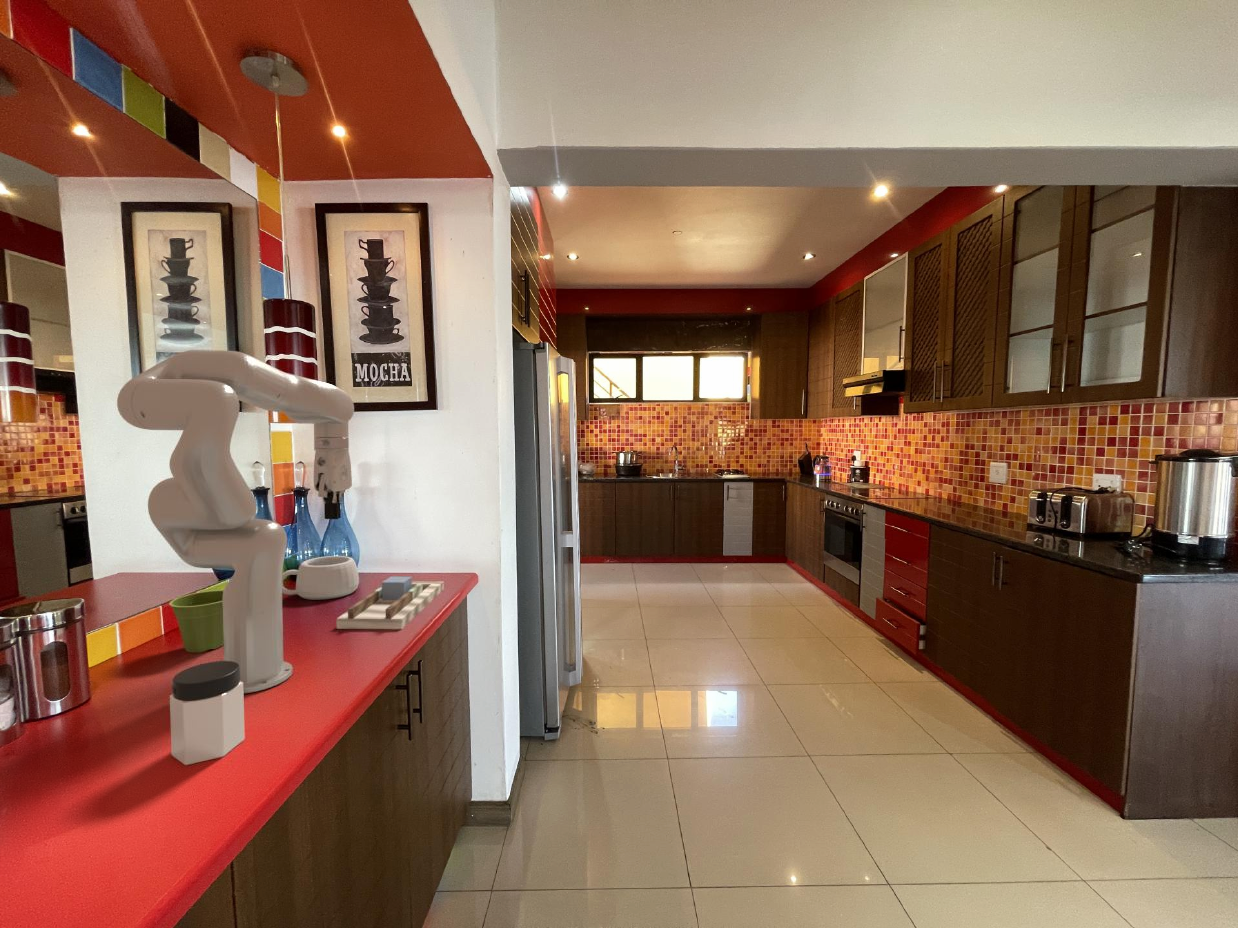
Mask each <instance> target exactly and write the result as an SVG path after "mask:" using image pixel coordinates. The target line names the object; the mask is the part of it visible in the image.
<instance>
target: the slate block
mask: <svg viewBox="0 0 1238 928" xmlns="http://www.w3.org/2000/svg"><path fill="white" fill-rule="evenodd" d="M412 581H413V576H389V577H388V578H386V579H385V580H383V581H382V582H381V586H382V600H398V599H399V598H400V597H402V596H403V595H404V594H405V593H407V592H408V591H409V590H411V589H412Z"/></svg>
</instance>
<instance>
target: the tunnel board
mask: <svg viewBox="0 0 1238 928" xmlns="http://www.w3.org/2000/svg"><path fill="white" fill-rule="evenodd" d="M444 587H445V581H426V580H425V581H424V580H421V581H419V580H415V581H413V580H412V589H411V590H409V591H408V592H407V593H405V594H404V595H403V596H402V597H400V598H399V599H398V600H382V585H381V586H380V587H378V588H377V589H374V591H372V592H371V593H369V594H368V595H366V596H365V597H363V598H361V599H360V600H359V601H358V602H356V603H355V604H353V605H351V606H350V607H349V608H347V611H346V612H344V613H343V614H341V615H340V616H338V617H337V618H336V629H339V630H342V629H343V630H347V629H348V630H349V629H350V630H352V629H353V630H354V629H355V630H356V629H357V630H364V629H365V630H403V629H404V628H405V627H406V626H407V625H408V624H409V623H410V622H411V621H412V620H413V619H414V618H415V617H416V616H417V615H419V614H420V613H421V612H422V611H423V610H424V609H425V608H426V607H427V606H428V605H429V604H430V603H431V602H432V601H434V599H436V597H438V596H439V595H440V594H441V592H443V591H444V590H445V589H444Z"/></svg>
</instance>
